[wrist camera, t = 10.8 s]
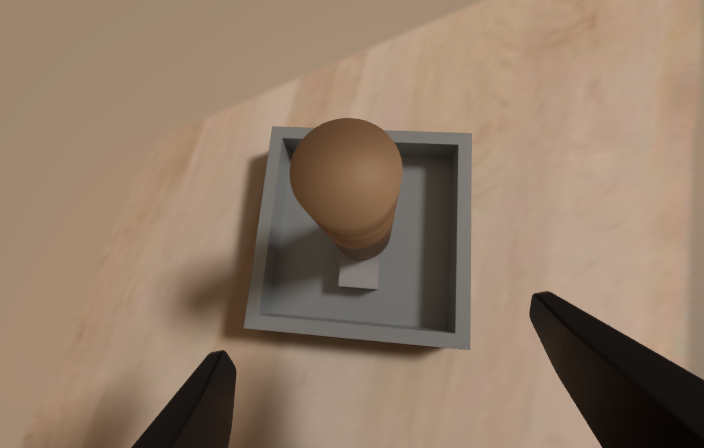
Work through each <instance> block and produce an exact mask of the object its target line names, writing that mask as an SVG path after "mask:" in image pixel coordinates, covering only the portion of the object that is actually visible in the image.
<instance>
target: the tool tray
mask: <svg viewBox="0 0 704 448" xmlns="http://www.w3.org/2000/svg"><path fill="white" fill-rule="evenodd" d="M313 129H315V128H301V127H273V126H272V132H271V139H270V146H269V153H268V160H267V167H266V174H265V181H264V188H263V195H262V202H261V209H260V216H259V224H258V231H257V238H256V245H255V252H254V259H253V266H252V273H251V280H250V287H249V294H248V301H247V308H246V315H245V322H244V328H247V329H258V330H268V331H278V332H288V333H299V334H309V335H319V336H330V337H340V338H350V339H361V340H371V341H381V342H391V343H402V344H412V345H422V346H433V347H443V348H453V349H464V350H470V289H471V156H472V133H445V132H417V131H388V130H383V131H385V132H386V133H387V134H388V135H389V136H390V137H391V139H392V140H393V141H394V143H395V144H396V146H397V148H398V150H399V153H400V156H401V160H402V180H401V185H400V190H399V195H398V200H397V206H396V211H395V216H394V221H393V226H392V231H391V236H390V240H389V243H388V245H387V246H386V248H385V249H384V250H383V251H382V252H381V253H380V260H379V276H378V290H377V289H365V288H353V287H341V286H338V284H339V273H340V262H341V250H340V249H339V248H338V247H337V246H336V244H335V243H334V242H333V241H332V240H331V239H330V238H329V237H328V235H327V234H326V233H325V232H324V231H323V230H322V229H321V228H320V227H319V225H318V224H317V223H316V222H315V221H314V220H313V219H312V218H311V216H310V215H309V214H308V213H307V212H306V211H305V210H304V209H303V208H302V206H301V205H300V204H299V202H298V201H297V199H296V197H295V195H294V193H293V191H292V188H291V183H290V164H291V160H292V157H293V154H294V152H295V150H296V148H297V146H298V145H299V143H300V142H301V140H302V139H303V138H304V137H305V136H306V135H307V134H308V133H309V132H310V131H312V130H313Z"/></svg>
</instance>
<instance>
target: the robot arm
mask: <svg viewBox="0 0 704 448" xmlns="http://www.w3.org/2000/svg"><path fill="white" fill-rule="evenodd" d="M529 314H530V319H531V322H532V324H533V326H534V328H535V330H536V332H537V334H538V336H539V338H540V340H541V343H542V345H543V347H544V349H545V351H546V353H547V355H548V357H549V359H550V361H551V363H552V365H553V367H554V369H555V371H556V373H557V375H558V376H559V378H560V380H561V381H562V383H563V385H564V386H565V388H566V390H567V391H568V393H569V394H570V396H571V398H572V399H573V401H574V403H575V404H576V406H577V407H578V409H579V411H580V412H581V414H582V416H583V417H584V419H585V420H586V422H587V424H588V425H589V427H590V428H591V430H592V432H593V433H594V435H595V437H596V438H597V440H598V441H599V443H600V445H601V446H602V448H704V380H703V379H701V378H699V377H698V376H696V375H694V374H692V373H691V372H689V371H687V370H686V369H684V368H682V367H680V366H679V365H677V364H675V363H673V362H672V361H670V360H668V359H666V358H665V357H663V356H661V355H659V354H658V353H656V352H654V351H652V350H651V349H649V348H647V347H645V346H644V345H642V344H640V343H639V342H637V341H635V340H633V339H632V338H630V337H628V336H626V335H625V334H623V333H621V332H619V331H618V330H616V329H614V328H612V327H611V326H609V325H607V324H605V323H604V322H602V321H600V320H598V319H597V318H595V317H593V316H591V315H590V314H588V313H586V312H584V311H583V310H581V309H579V308H578V307H576V306H574V305H572V304H571V303H569V302H567V301H565V300H564V299H562V298H560V297H558V296H557V295H555V294H553V293H551V292H548V291H544V292H539V293H535V294H533V296H532V300H531V306H530V313H529ZM235 384H236V368H235V365H234V364H233V362H232V360H231V359H230V357H229V356H228V354H227V353H226V351H224V350H221V351H216V352H211V353H210V354H208V355H207V357H206V358H205V359H204V360H203V361H202V363H201V364H200V365H199V366H198V368H197V369H196V370H195V371H194V372H193V374H192V375H191V376H190V377H189V378H188V380H187V381H186V382H185V383H184V384H183V386H182V387H181V388H180V389H179V391H178V392H177V393H176V394H175V395H174V397H173V398H172V399H171V400H170V401H169V403H168V404H167V405H166V406H165V407H164V409H163V410H162V411H161V412H160V414H159V415H158V416H157V417H156V418H155V420H154V421H153V422H152V423H151V424H150V426H149V427H148V428H147V429H146V430H145V432H144V433H143V434H142V435H141V437H140V438H139V439H138V440H137V441H136V443H135V444H134V445H133V446H132V447H131V448H228V445H229V440H230V434H231V428H232V419H233V408H234V396H235Z"/></svg>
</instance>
